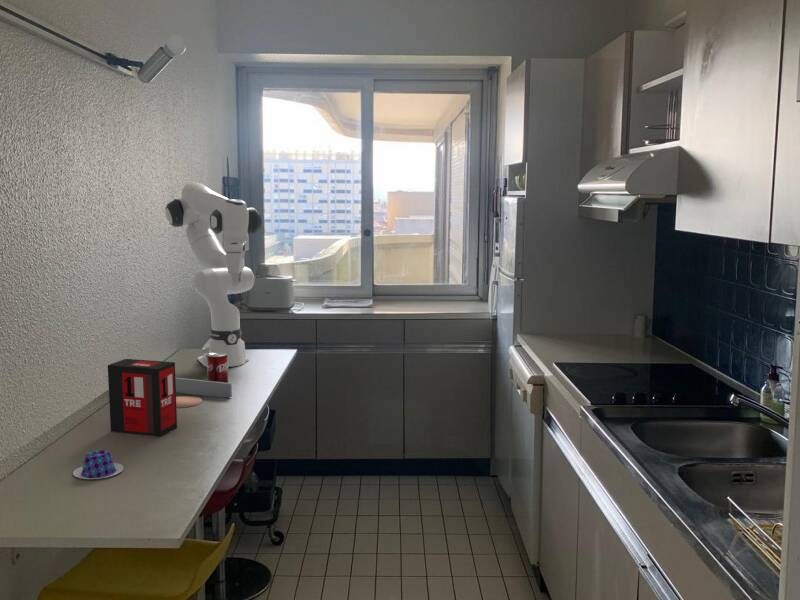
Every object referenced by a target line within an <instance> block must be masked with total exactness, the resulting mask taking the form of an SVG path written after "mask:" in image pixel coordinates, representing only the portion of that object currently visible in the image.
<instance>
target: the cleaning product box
mask: <svg viewBox="0 0 800 600" xmlns="http://www.w3.org/2000/svg"><path fill="white" fill-rule="evenodd" d="M175 377H176V362H173V361H162V360H160V361H158V360H148V359H147V360H146V359H134V358H124V359H121V360H118V361H115V362H112V363H110V364H107V379H108V381H107V382H108V383H107V384H108V400H109V402H108V403H109V422H110V425H109V426H110V432H111V433H118V434H127V433H128V435H129V434H130V435H139V436H140V435H141V436H148V437H150V436H151V437H156V438H157V437H158V438H162V437H163V436H165V435H167V434H168V433H170V431H171V432H172V431H174V430H176V429H177V428H178V413H177V412H178V411H177V408H176V397H177V394H176V393H177V392H176V382H175Z"/></svg>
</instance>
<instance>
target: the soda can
mask: <svg viewBox="0 0 800 600" xmlns="http://www.w3.org/2000/svg"><path fill="white" fill-rule="evenodd" d="M206 375H207V377H206V378H207V380H206V381H214V382H224V383H229V367H228V355H227V354H226V353H221V352H216V353H210V354H208V355H207V367H206Z"/></svg>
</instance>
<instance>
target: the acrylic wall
mask: <svg viewBox="0 0 800 600" xmlns="http://www.w3.org/2000/svg"><path fill="white" fill-rule="evenodd" d="M175 382H176V393H179V394H189V395H196V396H197V395H198V396H204V395H205V397H213V396H217V397H216V398H222V397H232V398H233V395H232V393H233V392H232V383H231V382H228V383H224V382H214V381H207V380H202V379H195V378H194V379H193V378H184V377H176V376H175Z"/></svg>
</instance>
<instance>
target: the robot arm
mask: <svg viewBox="0 0 800 600" xmlns="http://www.w3.org/2000/svg"><path fill="white" fill-rule="evenodd" d="M165 217H166V219H167V222H168V223H169V224H170V225H171V226H172V227H174V228H179V227H183V226H186V229H185V234H186V237H187V238H186V239H187V241H188V244H189V246H190V248H191V250H192V252H193V254H194V256H195V258H196V260H197V261H198V263H199V265H200V266H201V267H202V268H203V269H202V270H199V271H197V272H196V273H195V275H194V277H193V289H194V291H195V292H196V293H197V294H198V295H200V296H201V297H202V298H203V299H205V302H206V303H207V305H208V307H209V311H210V318H211V320H210V321H211V323H210V324H211V329H210V332H209V339H208V340H207V341H206V343H204V344H203V347H202V348H201V350H200V351H201V354H203V355H201V356H198V357H197V360H198V362H200V363H201V364H202V366H203V367H206V368H207V355H208V354H210V353H216V352H221V353H226V354H227V355H228V368H229V367H238V366H242V365H244V364H245V363H246V362H249V358H248V357H247V355H246V346H245V341H244V340H243V339H242V329H241V327H240V326H241V324H240V322H241V321H240V320H241V319H240V316H241V315H240V310H239V308H238V306H236V305H235V304H233V303H231V302H230V301H229V297H228V295H234V294H236V295H237V294H242V293H245V292H248V291H250V290H251V289H252V288H253V287H254V285H255V275H254V272H253V271H252V269H251V268H249V267H248V266H245V255H246V251H249V250H250V243H249V242H250V240H249V239H250V238H249V236H254V235H256V234H257V232H259V230H260V229H261V227H262V222H263V221H262V215H261V214H260V213H259V211H258V210H257V209H256V208H255V207H247V203H246V201H244V200H242V199H237V198H228V197H226V196H224V195H223V194H220V193H218V192H216V191H214V190H212V189H211V188H209V187H208V186H206V185H204V184H203V183H200V182H197V181H190V182H189V183H186V184H185V185H184V186H183V188H182V190H181V197H180V198H174V199H173V200H171V201H170V202H168V203H167V204H166V206H165ZM217 235H221V236H222V238H223V241H222V242H223V245H222V244H221V242H220V240H219V239H218V237H217Z"/></svg>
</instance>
